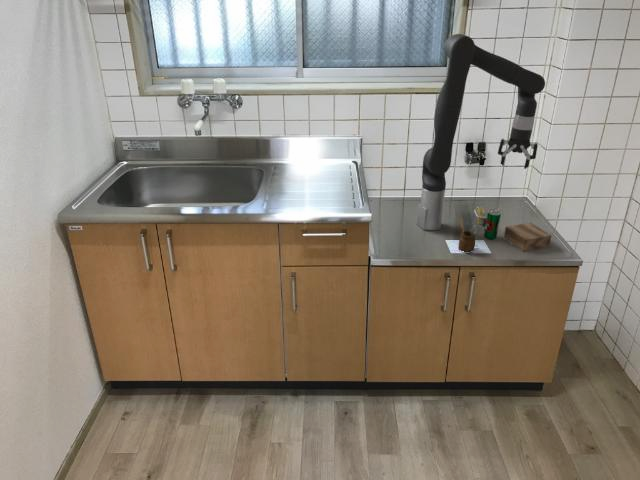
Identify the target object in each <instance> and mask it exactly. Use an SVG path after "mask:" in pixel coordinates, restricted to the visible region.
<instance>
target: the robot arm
mask: <svg viewBox="0 0 640 480" xmlns="http://www.w3.org/2000/svg"><path fill="white" fill-rule="evenodd" d="M443 49H444V54H445V55H446V57H447V58H448V59H449V61H448V68H447V75H446V78H445V81H444V83H443V85H442V86H441V88H440V91H439V93H438V95H437V100H436V105H435V110H434V118H433V119H434V121H433V124H434V126H433V127H434V140H433V141H434V142H433V146H432V147H431V148H429V149H427V151H426V152H425V154H424V155H423V159H422V173H421V181H422V188H421V196H420V203H418V207H417V214H416V215H417V216H416V217H417V218H416V225H417V226H418V227H419V228H420V229H422V230H423V231H437V230H439V229H441V226H442V219H443V211H444V202H445V194H446V188H447V187H446V186H447V181H446V176H445V174H446V173H447V172H448V170H449V169H450V167H451V165H452V164H451V163H452V154H453V145H454V140H455V139H454V138H455V136H456V132H457V128H458V124H459V119H460V116H461V115H460V114H461V111H462V110H461V109H462V105H463V101H464V100H463V99H464V95H465V90H466V84H467V79H468V75H469V71H470V69H471V66H473V67H476V68H478V69H480V70H482V71H484V72H486V73H488V74H489V75H491V76H493V77H495V78H497V79H498V80H501V81H503V82H505V83H507V84H510V85H513V86H515V87H517V104H516V110H515V115H514V118H513V120H512V127H511V131H510V134H509V139H505V138H500V143H499V146H498V151H497V155H499V156H501V160H500V165H501V166H503V167H504V166H505V161H506V156H507V155H508V154H510V152H512V153H518V154H522V153H523V155H524V156H525V162H524V166H523V167H524V169H525V170H526V169H527V168H529V165H530V161H531V160H535V159H536V157H537V151H538V143H537V142H531V137H532V133H533V128H534V124H535V118H536V112H537V107H538V102H537V100H536V94H539V93H541V92H542V91H543V90H544V89H545V86H546V80H545V78H544V77H543V76H542V75H541V74H538V73H536V72H534V71H531V70H529V69H526V68H525V67H522V66H521V65H519V64H517V63H515V62H513V61H511V60H509V59H508V58H505V57H503V56H500V55H497V54H494V53H492V52H491V51H488V50H485V49H483V48H481V47H480V46H478V45H476V44H475V41H474V40H473V39H472V38H471V37H470V36H468V35H465V34H462V33H456V34H453V35H451V36H449V37H448V38H447V39H446V40H445V43H444V48H443ZM506 144H507V145H508V147H507V148H506V149H505V150H504V151H502V150H503V147H504V146H505V145H506ZM530 147H531V149H532V154H531V155H530V153H529V151H528V149H529V148H530Z"/></svg>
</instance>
